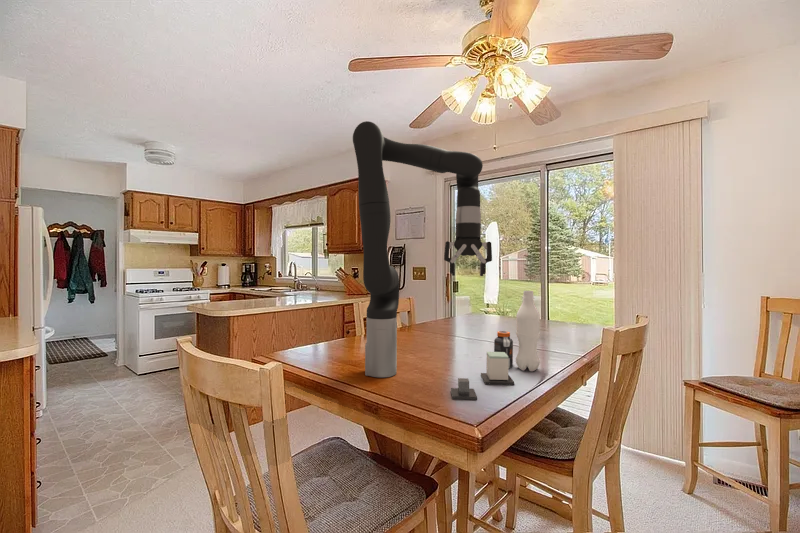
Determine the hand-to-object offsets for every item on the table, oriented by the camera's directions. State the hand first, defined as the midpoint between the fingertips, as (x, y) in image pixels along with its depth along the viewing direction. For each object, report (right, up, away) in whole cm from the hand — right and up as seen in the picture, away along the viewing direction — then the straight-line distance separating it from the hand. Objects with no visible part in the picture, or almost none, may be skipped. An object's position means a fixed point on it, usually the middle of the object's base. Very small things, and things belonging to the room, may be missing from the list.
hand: (467, 275), depth 114 cm
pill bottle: (+13, -30, +9) cm, 34 cm away
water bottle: (+20, -30, +5) cm, 37 cm away
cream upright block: (+8, -29, -6) cm, 31 cm away
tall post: (+7, -30, -6) cm, 32 cm away
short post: (-4, -30, -18) cm, 36 cm away
